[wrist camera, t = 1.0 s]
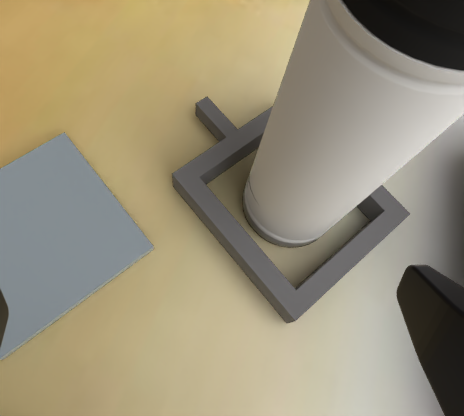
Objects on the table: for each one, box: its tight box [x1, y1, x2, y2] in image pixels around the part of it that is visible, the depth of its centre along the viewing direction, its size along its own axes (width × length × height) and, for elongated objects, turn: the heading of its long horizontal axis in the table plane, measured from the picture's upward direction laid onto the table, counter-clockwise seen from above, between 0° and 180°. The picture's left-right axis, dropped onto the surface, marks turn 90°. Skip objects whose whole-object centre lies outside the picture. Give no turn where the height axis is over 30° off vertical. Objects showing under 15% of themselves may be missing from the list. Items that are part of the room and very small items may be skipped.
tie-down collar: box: [172, 97, 410, 323], centre depth 25 cm, size 15×10×2 cm
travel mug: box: [242, 0, 464, 247], centre depth 16 cm, size 6×7×20 cm
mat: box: [0, 133, 154, 360], centre depth 23 cm, size 10×10×1 cm
